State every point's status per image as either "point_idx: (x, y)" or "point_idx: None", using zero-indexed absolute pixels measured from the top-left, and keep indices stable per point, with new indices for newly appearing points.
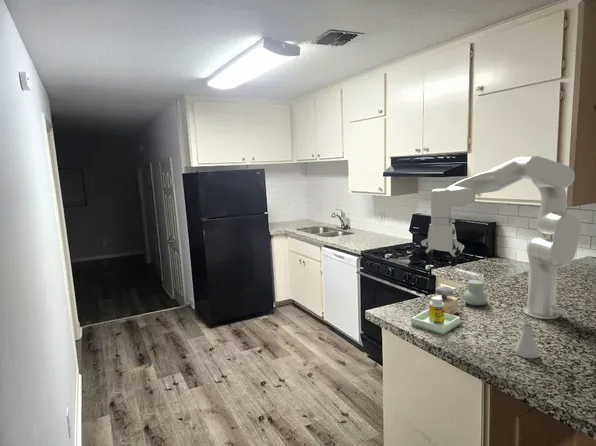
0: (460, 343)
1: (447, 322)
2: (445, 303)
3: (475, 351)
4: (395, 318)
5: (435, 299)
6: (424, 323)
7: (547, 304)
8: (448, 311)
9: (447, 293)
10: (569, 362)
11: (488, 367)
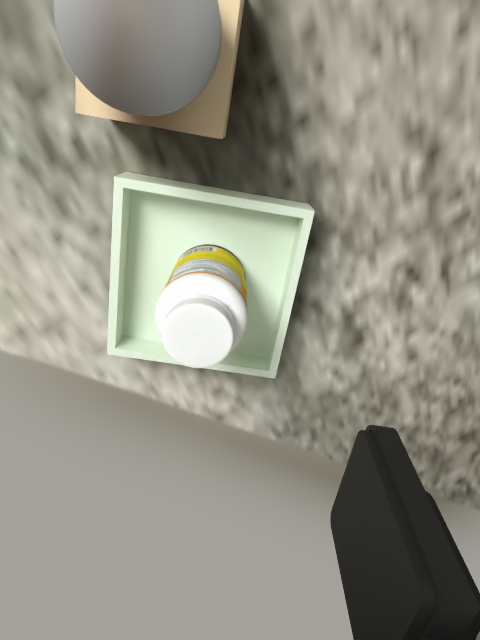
0: (353, 390)
1: (254, 244)
2: (198, 134)
3: (413, 419)
4: (15, 307)
5: (200, 367)
6: None
7: None
8: (224, 136)
9: (193, 97)
10: None
11: (459, 487)
